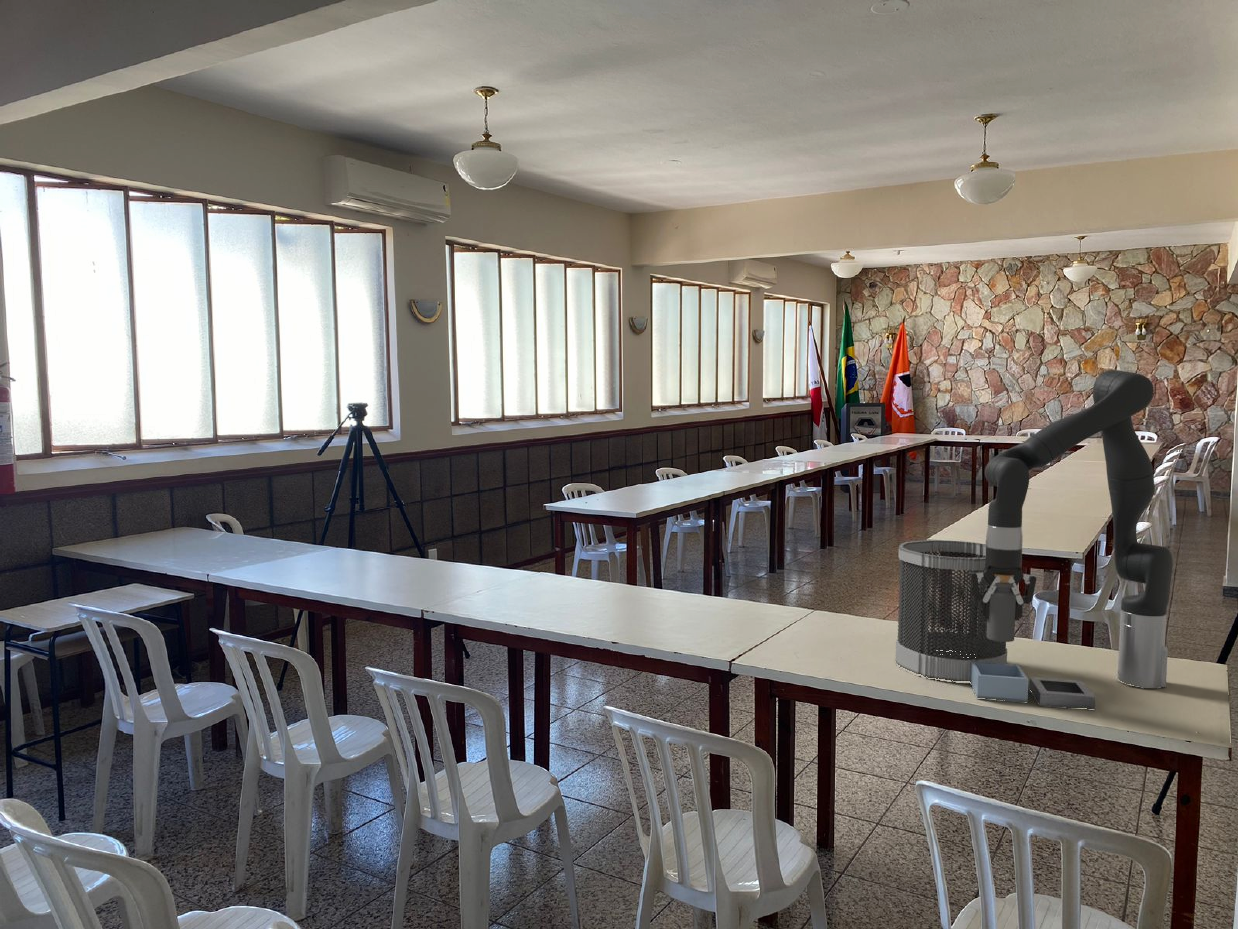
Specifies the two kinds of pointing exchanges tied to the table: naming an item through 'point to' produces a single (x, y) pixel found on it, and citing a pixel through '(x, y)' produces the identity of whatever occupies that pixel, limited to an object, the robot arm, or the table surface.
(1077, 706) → the collar
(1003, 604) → the bottle
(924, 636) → the wastebasket
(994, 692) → the bin
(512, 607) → the table surface
